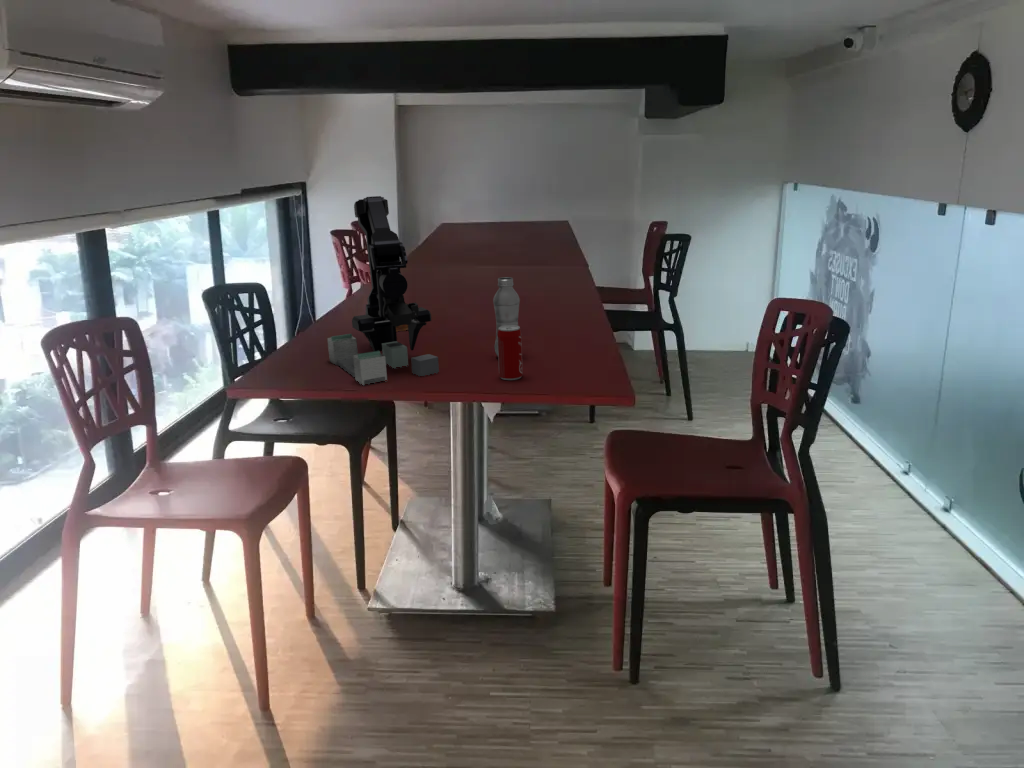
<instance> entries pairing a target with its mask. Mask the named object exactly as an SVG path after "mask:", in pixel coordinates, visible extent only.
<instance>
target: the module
mask: <svg viewBox="0 0 1024 768" xmlns="http://www.w3.org/2000/svg"><path fill="white" fill-rule="evenodd" d="M381 350H382V353H381V354H383V355H384V356H385V360H386V365H387V364H388V365H389V366H388V365H387V366H388V367H390V366H391V367H392V368H391V367H390V368H391V369H393V368H394V369H397V368H396V367H400V368H403V367H402V366H406V367H408V366H409V355H408V346H407V345H405V344H403V343H401V342H399V341H398V340H397V341H395V342H389V343H382V349H381ZM407 365H408V366H407Z"/></svg>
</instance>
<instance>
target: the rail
mask: <svg viewBox="0 0 1024 768" xmlns="http://www.w3.org/2000/svg"><path fill="white" fill-rule="evenodd" d="M327 350H328V357H329V362H330V363H332V364H333V365H334V364H335V366H338V367H339V366H340V367H339V368H340V369H342V368H343V369H344V370H343V369H342V370H343V371H345V372H346V371H347V372H348V373H347V372H346V373H347V374H349V375H350V374H351V375H352V376H351V375H350V376H351V377H352V378H354V377H355V378H354V379H355V381H356V382H357V381H358V382H359V383H358V382H357V383H358V384H360V385H361V384H362V385H363V386H366V385H365V384H368V385H371V384H370V383H374V384H376V383H375V382H380V381H385V380H387V381H388V374H387V364H386V360H385V356H384V355H383V353H381V351H380V350H378V351H373V350H372V351H368V352H366V351H365V352H362V353H361V352H360V353H359V351H358V342H357V337H354V336H353V334H352V333H346V334H340V335H332V336H330V337H327ZM385 382H386V381H385ZM380 383H381V382H380ZM362 385H361V386H362Z"/></svg>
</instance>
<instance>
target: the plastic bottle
mask: <svg viewBox="0 0 1024 768" xmlns="http://www.w3.org/2000/svg"><path fill="white" fill-rule="evenodd" d="M497 282H498V283H497V287H498V289H497V291H496V293H495V294H494V296H493V299H492V302H493V308H494V315H495V322H496V323H495V324H496V325H495V326H496V327H495V328H496V329H495V342H494V352H495V355H496V356H497V357H498V339H497V333H498V328H499V327H501V326H506V325H515V326H519V321H518V320H519V310H520V301H521V298H520V296H519V294H518V293H517V291H516V290H515V289H514V287H513V286H514V278H513V277H510V276H509V277H508V276H507V277H498V278H497Z"/></svg>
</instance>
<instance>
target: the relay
mask: <svg viewBox="0 0 1024 768" xmlns="http://www.w3.org/2000/svg"><path fill="white" fill-rule="evenodd" d="M410 361H411V374H412V373H413V374H412V375H414V374H416V375H415V376H417V375H418V377H420V376H424V377H426V376H425V375H428V376H431V375H430V374H432V375H435V374H434V373H436V374H439V373H440V369H439V368H440V366H439V364H440V363H439V356H436V355H433V354H430V353H427V354H426V353H425V354H423V355H418V356H413V357H411V358H410ZM438 372H439V373H438Z"/></svg>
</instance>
